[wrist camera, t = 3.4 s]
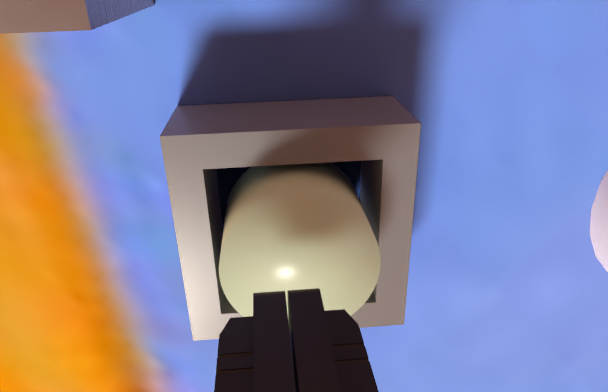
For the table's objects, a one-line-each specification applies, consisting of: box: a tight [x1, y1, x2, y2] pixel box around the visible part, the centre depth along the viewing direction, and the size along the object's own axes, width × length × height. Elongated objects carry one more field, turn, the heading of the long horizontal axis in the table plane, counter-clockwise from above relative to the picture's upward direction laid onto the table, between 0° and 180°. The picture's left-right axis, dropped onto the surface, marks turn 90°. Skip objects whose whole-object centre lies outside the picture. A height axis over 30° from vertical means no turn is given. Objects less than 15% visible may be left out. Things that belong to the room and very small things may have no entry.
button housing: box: [160, 96, 421, 341], centre depth 16 cm, size 7×7×3 cm
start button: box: [219, 162, 381, 317], centre depth 15 cm, size 4×4×3 cm
